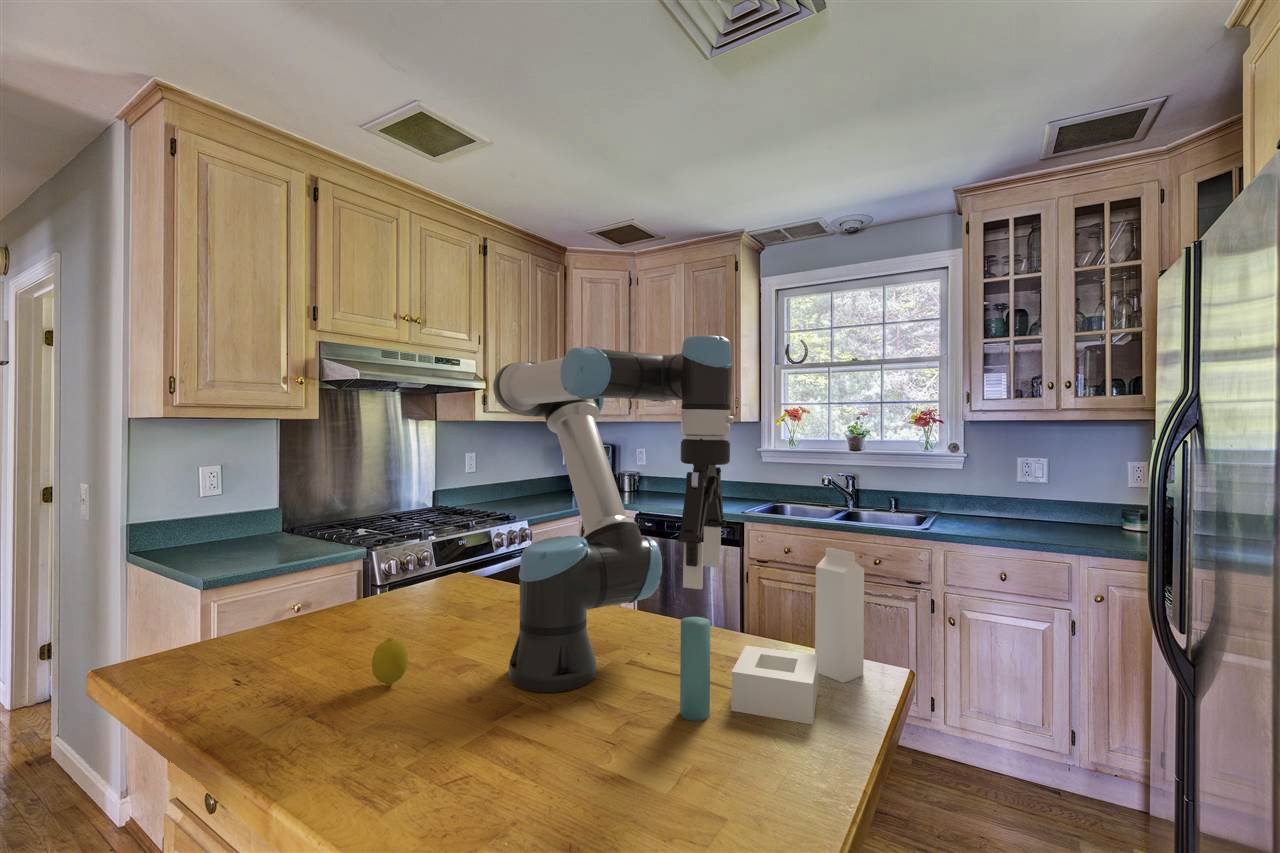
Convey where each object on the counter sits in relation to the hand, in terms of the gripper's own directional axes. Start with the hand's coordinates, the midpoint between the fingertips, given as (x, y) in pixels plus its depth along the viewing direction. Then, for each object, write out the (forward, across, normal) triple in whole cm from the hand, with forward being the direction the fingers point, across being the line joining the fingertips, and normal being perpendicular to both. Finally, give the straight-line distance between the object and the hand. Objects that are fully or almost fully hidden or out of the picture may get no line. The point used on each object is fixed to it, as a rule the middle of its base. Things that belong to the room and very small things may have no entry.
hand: (702, 576), depth 92 cm
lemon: (+21, -8, +51) cm, 56 cm away
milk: (+21, +22, -20) cm, 36 cm away
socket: (+20, +7, -11) cm, 24 cm away
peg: (+21, -1, +1) cm, 21 cm away
